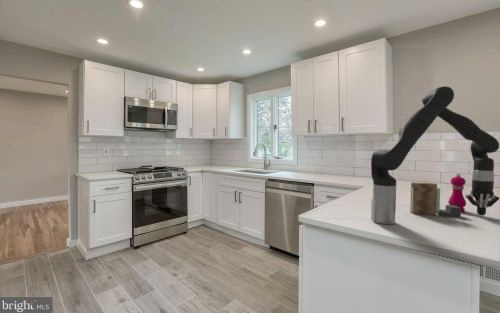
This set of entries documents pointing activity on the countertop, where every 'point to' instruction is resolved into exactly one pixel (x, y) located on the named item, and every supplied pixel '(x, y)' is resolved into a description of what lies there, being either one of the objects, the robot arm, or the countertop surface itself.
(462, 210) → the pepper mill
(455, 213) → the block
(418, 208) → the brown upright flat box
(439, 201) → the sliding door
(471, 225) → the countertop surface
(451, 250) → the countertop surface
